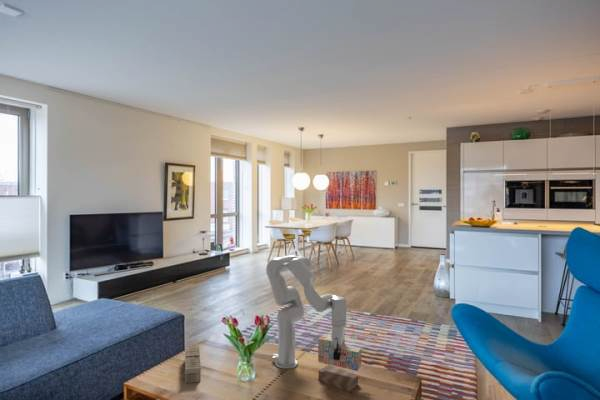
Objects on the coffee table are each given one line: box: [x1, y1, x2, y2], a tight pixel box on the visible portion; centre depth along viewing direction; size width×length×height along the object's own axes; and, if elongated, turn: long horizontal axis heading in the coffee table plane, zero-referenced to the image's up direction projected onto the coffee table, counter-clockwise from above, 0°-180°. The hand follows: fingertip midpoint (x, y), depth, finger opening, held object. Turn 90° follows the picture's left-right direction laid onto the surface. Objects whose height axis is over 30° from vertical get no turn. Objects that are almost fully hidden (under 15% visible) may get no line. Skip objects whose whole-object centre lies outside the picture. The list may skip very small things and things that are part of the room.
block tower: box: [184, 345, 202, 384], centre depth 194 cm, size 8×8×29 cm
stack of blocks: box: [317, 334, 363, 372], centre depth 184 cm, size 21×6×12 cm, turn 63°
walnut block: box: [317, 364, 359, 392], centre depth 184 cm, size 18×9×5 cm, turn 51°
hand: (338, 356), depth 184 cm, fingers closed on stack of blocks, 6 cm apart
